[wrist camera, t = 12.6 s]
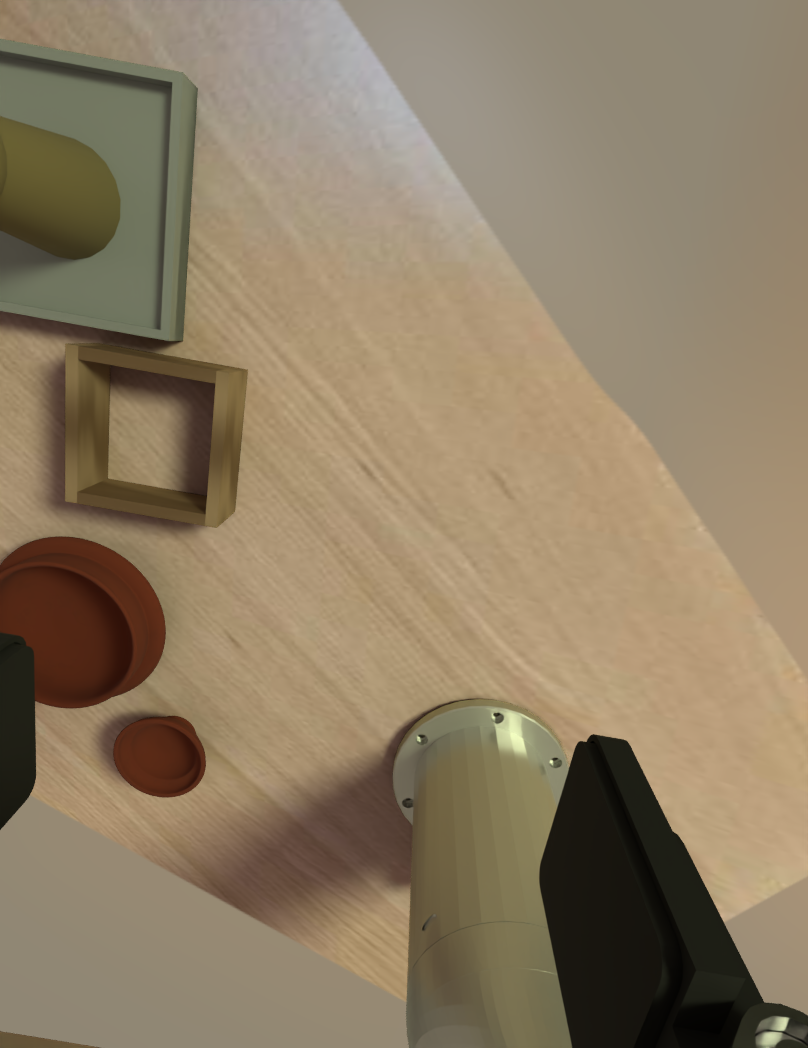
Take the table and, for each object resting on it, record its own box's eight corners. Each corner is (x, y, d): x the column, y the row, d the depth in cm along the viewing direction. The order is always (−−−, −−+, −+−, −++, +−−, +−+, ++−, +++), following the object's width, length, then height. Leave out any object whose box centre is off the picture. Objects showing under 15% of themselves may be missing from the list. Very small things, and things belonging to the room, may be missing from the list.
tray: (182, 340, 36) (168, 340, 34) (-35, 301, 36) (-61, 299, 34) (197, 88, 32) (182, 72, 30) (-46, 43, 32) (-77, 24, 30)
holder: (235, 511, 39) (216, 527, 35) (96, 487, 39) (65, 501, 35) (247, 369, 36) (229, 372, 33) (99, 343, 36) (65, 343, 33)
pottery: (116, 498, 39) (78, 518, 35) (266, 738, 44) (249, 780, 40) (-26, 569, 41) (-78, 595, 37) (134, 790, 46) (104, 836, 42)
